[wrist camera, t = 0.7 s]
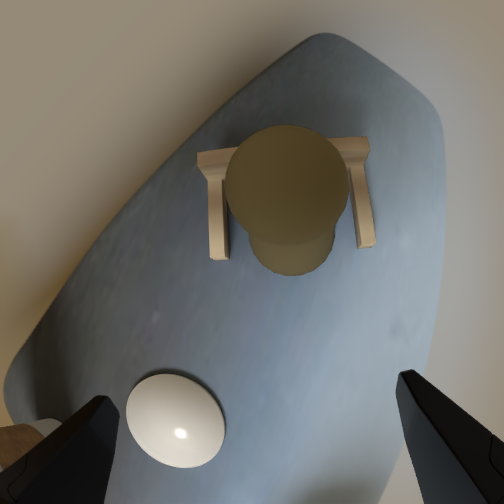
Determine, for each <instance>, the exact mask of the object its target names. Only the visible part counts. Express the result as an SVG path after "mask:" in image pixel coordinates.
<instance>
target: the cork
mask: <svg viewBox="0 0 504 504" xmlns="http://www.w3.org/2000/svg"><path fill="white" fill-rule="evenodd" d="M349 189H350V187H349V180H348V173H347V168H346V165H345V163H344V161H343V159H342V157H341V155H340V153H339V151H338V149H337V148H336V147H335V146H334V145H333V144H332V143H331V142H330V141H329V140H328V139H327V138H326V137H324V136H322V135H320V134H319V133H317V132H315V131H313V130H311V129H309V128H305V127H300V126H295V125H277V126H271V127H269V128H266V129H263V130H260V131H258V132H256V133H254V134H253V135H252V136H250V137H249V138H248V139H246V140H245V141H243V142H242V143H241V144H240V146H239V147H238V148H237V150H236V151H235V152H234V154H233V155H232V156H231V159H230V162H229V165H228V168H227V171H226V175H225V194H226V199H227V202H228V204H229V207H230V210H231V213H232V214H233V216H234V217H235V218H236V219H237V221H238V222H239V223H240V224H241V226H242V227H243V228H244V229H245V230H246V232H248V233H249V240H250V244H251V247H252V250H253V252H254V255H255V256H256V257H257V259H258V260H259V261H260V262H261V264H262V265H263V266H265V267H267V268H268V269H270V270H271V271H273V272H274V273H278V274H282V275H286V276H296V275H303V274H305V273H308V272H311V271H313V270H315V269H316V268H317V267H318V266H320V265H321V264H322V263H323V262H324V261H325V260H326V258H327V257H328V255H329V253H330V252H331V250H332V246H333V242H334V238H335V234H334V226H335V224H336V222H337V221H338V219H339V217H340V216H341V214H342V212H343V211H344V209H345V207H346V203H347V199H348V194H349Z"/></svg>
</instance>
